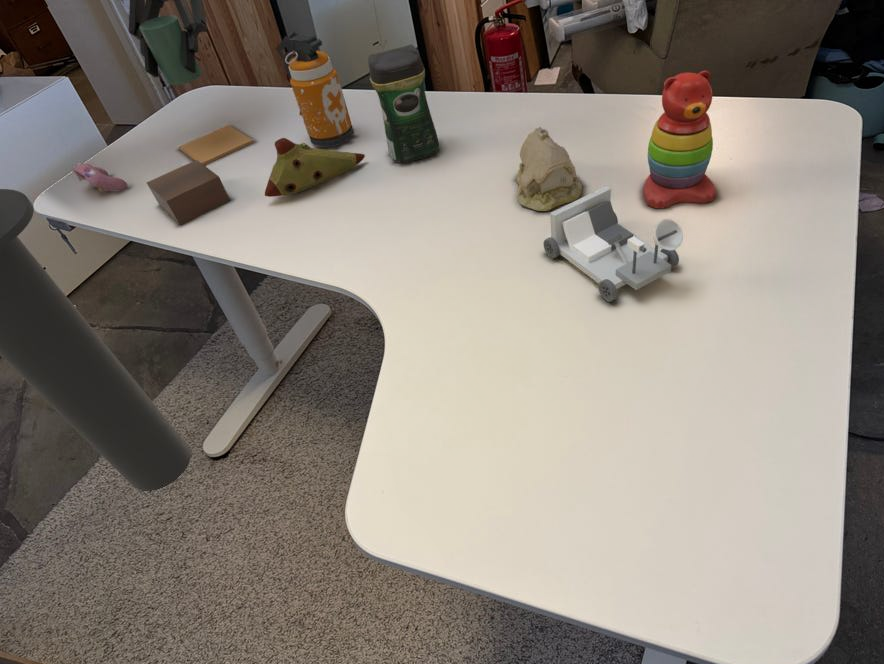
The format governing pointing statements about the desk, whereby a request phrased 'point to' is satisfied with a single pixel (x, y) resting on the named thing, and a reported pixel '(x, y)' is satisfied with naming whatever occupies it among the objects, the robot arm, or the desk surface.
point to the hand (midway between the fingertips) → (170, 71)
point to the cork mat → (215, 144)
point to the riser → (188, 191)
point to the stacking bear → (681, 144)
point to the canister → (316, 90)
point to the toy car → (610, 245)
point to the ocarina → (306, 167)
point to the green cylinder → (168, 49)
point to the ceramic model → (546, 173)
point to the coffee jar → (403, 103)
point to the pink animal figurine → (98, 177)
